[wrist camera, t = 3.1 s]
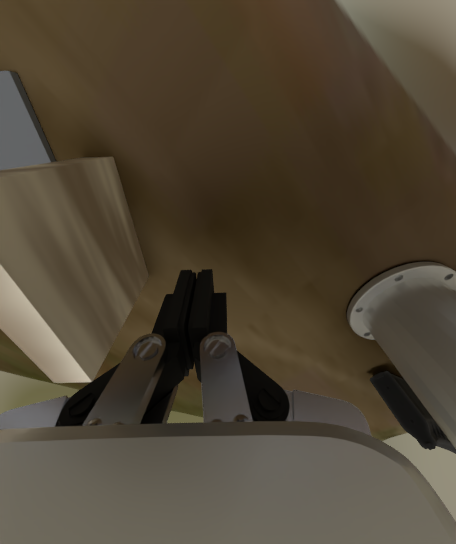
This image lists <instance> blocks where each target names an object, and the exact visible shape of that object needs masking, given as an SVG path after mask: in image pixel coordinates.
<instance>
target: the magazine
mask: <svg viewBox="0 0 456 544" xmlns="http://www.w3.org/2000/svg"><path fill="white" fill-rule="evenodd" d="M370 381H371V382H372V384H373V385H374V387H375V388H376V390H377V391H378V393H379V394H380V396H381V397H382V398H383V400H384V401H385V403H386V404H387V406H388V407H389V409H390V410H391V411H392V413H393V414H394V416H395V417H396V419H397V420H398V422H399V423H400V425H401V426H402V427H403V429H404V430H405V431H406V432H408V433H409V434H411V435H412V436H413V437H414V438H416V439H417V441H418V442H419V443H420V445H421V446H422V447H423V448H425V449H427V448H428V449H429V450H431V449H435V446H438V447H441V448H444V449H447V450H449V451H451V452H454V453H455V454H456V449H455V447H454V446H453V445H452V443H451V442H450V440H449V439H448V438H447V436H446V435H445V434H444V432H443V431H442V430H441V428H440V427H439V426H438V424H437V423H436V421H435V420H434V419H433V417H432V416H431V415H430V413H429V412H428V411H427V409H426V408H425V407H424V405H423V404H422V402H421V401H420V400H419V398H418V397H417V396H416V394H415V393H414V392H413V390H412V389H411V388H410V386H409V385H408V383H407V382H406V381H405V380H404V379H402V378H400V377H397V376H395V375H393V374H391V373H390V372H388V371H385V372H380V373H378V374H376V375H374V376H373V377H372V378H370Z"/></svg>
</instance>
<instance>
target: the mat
mask: <svg viewBox="0 0 456 544" xmlns="http://www.w3.org/2000/svg"><path fill="white" fill-rule="evenodd" d="M50 162H56V160H55V158H54V155H53V153H52V151H51V149H50V146H49V144H48V142H47V140H46V137H45V135H44V133H43V131H42V128H41V126H40V124H39V122H38V119H37V117H36V115H35V113H34V110H33V108H32V106H31V104H30V101H29V99H28V97H27V95H26V92H25V90H24V88H23V86H22V83H21V81H20V79H19V77H18V74H17V73H15V72H11V71H0V170H5V169H12V168H18V167H25V166H31V165H37V164H44V163H50Z"/></svg>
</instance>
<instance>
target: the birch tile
mask: <svg viewBox="0 0 456 544" xmlns="http://www.w3.org/2000/svg"><path fill="white" fill-rule="evenodd" d="M148 278H149V274H148V271H147V268H146V264H145V261H144V258H143V254H142V251H141V248H140V244H139V241H138V238H137V234H136V231H135V228H134V224H133V221H132V217H131V214H130V211H129V207H128V204H127V201H126V197H125V194H124V191H123V187H122V184H121V181H120V177H119V174H118V171H117V167H116V164H115V161H114V157H83V158H76V159H70V160H63V161H57V162H50V163H44V164H37V165H31V166H25V167H18V168H12V169H5V170H0V329H1V330H2V331H3V332H4V333H5V334H6V335H7V336H8V337H9V338H10V339H11V340H12V341H13V342H14V343H15V344H16V345H17V346H18V347H19V348H20V349H21V350H22V351H23V352H24V353H25V354H26V355H27V356H28V357H29V358H30V359H31V360H32V361H33V362H34V363H35V364H36V365H37V366H38V367H39V368H40V369H41V370H42V371H43V372H44V373H45V374H46V375H47V376H48V377H49V378H50V379H51V380H52V381H53V382H54V383H71V382H92V381H93V380H94V378H95V376H96V374H97V372H98V370H99V368H100V367H101V365H102V363H103V361H104V359H105V357H106V355H107V354H108V352H109V350H110V348H111V346H112V344H113V342H114V341H115V339H116V337H117V335H118V333H119V331H120V329H121V328H122V326H123V324H124V322H125V320H126V318H127V316H128V315H129V313H130V311H131V309H132V307H133V305H134V303H135V302H136V300H137V298H138V296H139V294H140V292H141V290H142V289H143V287H144V285H145V283H146V281H147V279H148Z"/></svg>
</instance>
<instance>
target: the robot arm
mask: <svg viewBox="0 0 456 544" xmlns="http://www.w3.org/2000/svg"><path fill="white" fill-rule="evenodd" d="M347 320H348V323H349V325H350V326H351V328H352V329H353V331H354V332H355V333H356V334H358V335H359V336H361V337H363V338H367V339H370V340H376V341H377V343H378V344H379V345H380V347H381V348H382V350H383V351H384V352H385V354H386V355H387V356H388V358H389V359H390V360H391V362H392V363H393V364H394V366H395V367H396V369H397V370H398V371H399V373H400V374H401V375H402V377H403V378H404V379H405V381H406V382H407V383H408V385H409V386H410V388H411V389H412V390H413V392H414V393H415V394H416V396H417V397H418V398H419V400H420V401H421V402H422V404H423V405H424V407H425V408H426V409H427V411H428V412H429V413H430V415H431V416H432V417H433V419H434V420H435V421H436V423H437V424H438V426H439V427H440V428H441V430H442V431H443V432H444V434H445V435H446V436H447V438H448V439H449V440H450V442H451V443H452V445H453V446H454V447H455V449H456V272H455V271H454V270H452V269H451V268H449V267H447V266H445V265H443V264H440V263H435V262H416V263H410V264H405V265H402V266H399V267H396V268H393V269H391V270H388V271H386V272H384V273H382V274H380V275H379V276H377V277H375V278H374V279H372V280H371V281H370V282H368V283H367V284H366V285H364V286H363V287H362V288H361V289H360V290H359V291H358V292H357V293H356V295H355V296H354V297H353V299H352V300H351V302H350V304H349V306H348V310H347ZM194 363H195V368H196V373H197V378H198V380H199V381H200V382H201V383H202V400H203V418H204V423H168V424H167V420H168V417H169V414H170V411H171V408H172V405H173V402H174V399H175V396H176V393H177V390H178V384H179V383H180V382H181V381H182V380H183V379H184V376H188V375H189V369H193V366H194ZM0 544H456V521H455V520H454V518H453V517H452V515H451V514H450V513H449V511H448V509H447V508H446V506H445V505H444V503H443V502H442V500H441V499H440V498H439V496H438V495H437V494H436V492H435V491H434V489H433V488H432V486H431V485H430V484H429V483H428V481H427V480H426V479H425V478H424V476H423V475H422V474H421V473H420V471H419V470H418V469H417V468H416V467H415V466H414V465H413V464H412V463H411V462H410V461H409V460H408V459H407V458H406V457H405V456H404V455H402V454H401V453H400V452H398V451H397V450H395V449H394V448H392V447H391V446H389V445H387V444H385V443H384V442H382V441H380V440H378V439H376V438H374V437H372V436H371V433H370V429H369V426H368V423H367V421H366V419H365V417H364V415H363V414H362V413H361V412H360V410H359V409H358V408H357V407H355V406H354V405H353V404H351V403H349V402H346V401H343V400H339V399H334V398H330V397H325V396H321V395H316V394H311V393H307V392H302V391H298V390H293V392H292V391H287V390H283V389H282V388H281V387H280V386H279V385H278V384H277V383H276V382H275V381H273V380H272V379H271V378H270V377H268V376H267V375H266V374H265V373H264V372H262V371H261V370H260V369H259V368H257V367H256V366H255V365H254V364H253V363H251V362H250V361H249V360H248V359H246V358H245V357H244V356H243V355H242V354H240V353H239V352H238V351H237V350H236V346H235V342H234V340H233V338H232V337H231V336H230V335H228V334H227V304H226V293H214V286H213V273H212V269H208V270H202V272H198V275H197V279H196V273H195V272H193V273H192V270H181V272H180V275H179V278H178V281H177V284H176V287H175V290H174V293H173V294H167V295H166V296H165V298H164V301H163V304H162V306H161V309H160V312H159V315H158V317H157V320H156V323H155V326H154V328H153V331H152V334H147V335H144V336H142V337H140V338H138V339H137V340H136V341H135V342H134V343H133V344H132V345H131V347H130V348H129V350H128V351H127V353H126V355H125V356H124V358H123V360H122V361H121V363H119V364H118V365H116V366H115V367H113V368H112V369H110V370H109V371H107V372H106V373H104V374H103V375H101V376H100V377H98V378H97V379H96V380H94V381H93V382H91V383H90V384H88V385H87V386H85V387H84V388H82V389H81V390H79V391H78V392H77V393H75V394H74V395H73V396H72V397H69V398H68V397H67V396H63V397H59V398H55V399H51V400H47V401H43V402H39V403H35V404H31V405H27V406H23V407H20V408H16V409H11V410H9V411H6V412H4V413H2V414H0Z"/></svg>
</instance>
